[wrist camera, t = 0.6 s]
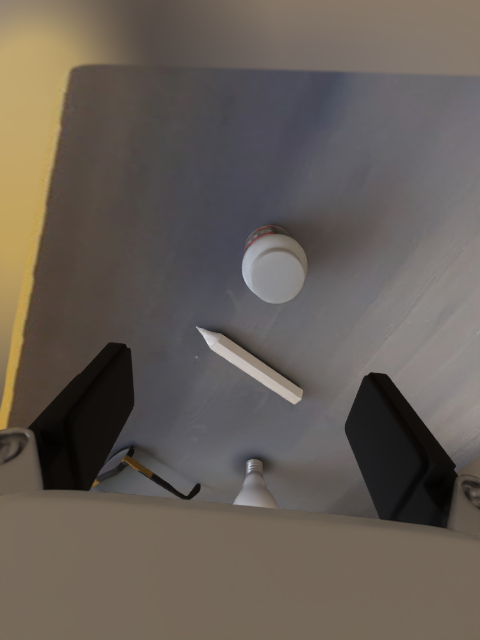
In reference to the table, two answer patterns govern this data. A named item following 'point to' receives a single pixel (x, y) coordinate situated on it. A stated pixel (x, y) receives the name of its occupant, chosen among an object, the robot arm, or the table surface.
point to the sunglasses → (125, 458)
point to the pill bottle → (273, 264)
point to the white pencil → (252, 365)
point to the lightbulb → (255, 487)
